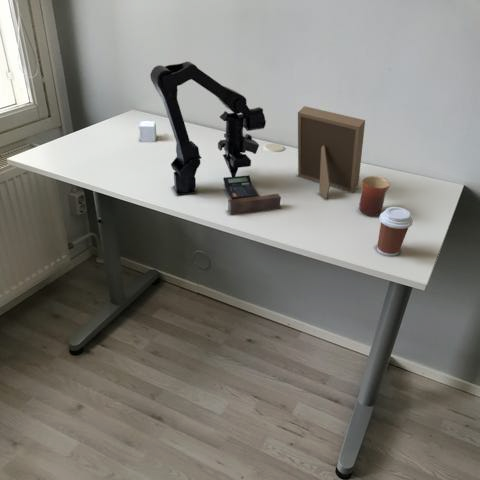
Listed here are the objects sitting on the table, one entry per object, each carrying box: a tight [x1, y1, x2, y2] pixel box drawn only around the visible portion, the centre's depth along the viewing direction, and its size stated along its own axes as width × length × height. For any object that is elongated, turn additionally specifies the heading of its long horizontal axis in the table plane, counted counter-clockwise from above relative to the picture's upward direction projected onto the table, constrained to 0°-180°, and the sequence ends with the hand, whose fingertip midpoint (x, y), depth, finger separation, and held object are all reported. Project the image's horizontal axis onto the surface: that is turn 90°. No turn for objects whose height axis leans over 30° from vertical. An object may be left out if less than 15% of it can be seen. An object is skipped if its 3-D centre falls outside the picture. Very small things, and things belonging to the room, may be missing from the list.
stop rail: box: [227, 193, 282, 216], centre depth 157 cm, size 17×2×4 cm, turn 109°
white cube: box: [138, 120, 158, 142], centre depth 202 cm, size 6×6×6 cm
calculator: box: [222, 174, 260, 200], centre depth 168 cm, size 9×12×3 cm
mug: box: [358, 175, 391, 217], centre depth 158 cm, size 12×9×10 cm
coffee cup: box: [376, 206, 414, 257], centre depth 139 cm, size 9×9×12 cm
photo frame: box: [297, 105, 366, 199], centre depth 165 cm, size 15×22×25 cm
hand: (233, 176), depth 173 cm, fingers closed
